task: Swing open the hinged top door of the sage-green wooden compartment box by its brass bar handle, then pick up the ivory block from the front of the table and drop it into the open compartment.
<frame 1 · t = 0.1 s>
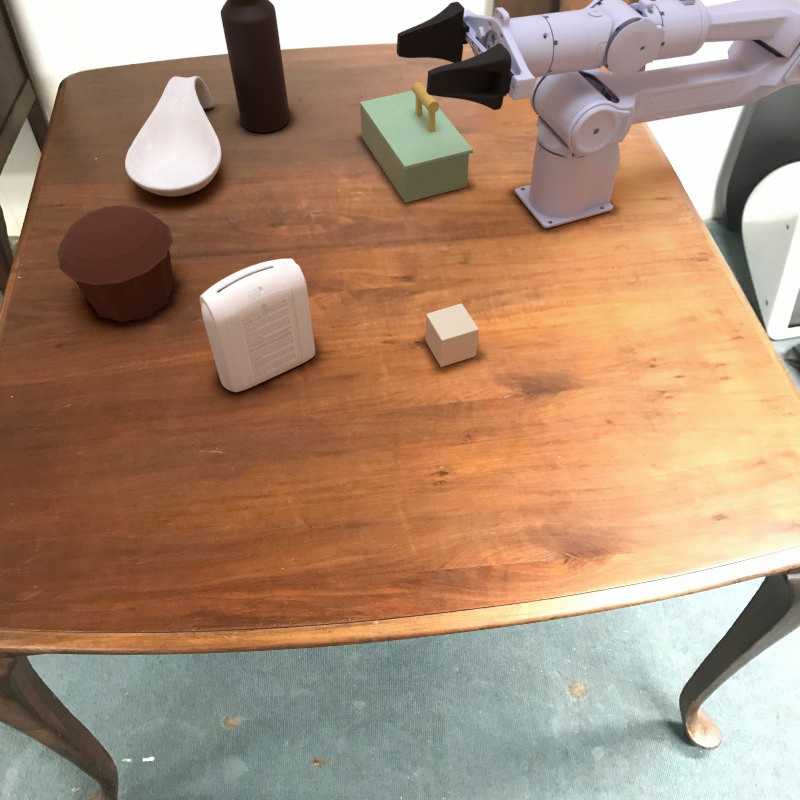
hand: (412, 63, 74), 22 cm above the table, tool horizontal, fingers open, 7 cm apart
muffin: (133, 294, 86), on the table
bottle: (265, 121, 107), on the table
block: (450, 348, 80), on the table
photo printer: (269, 366, 79), on the table
spoon rest: (186, 156, 102), on the table
compartment door: (414, 111, 95), point 7 cm above the table, hinge at 0.0°
compartment: (412, 161, 101), on the table
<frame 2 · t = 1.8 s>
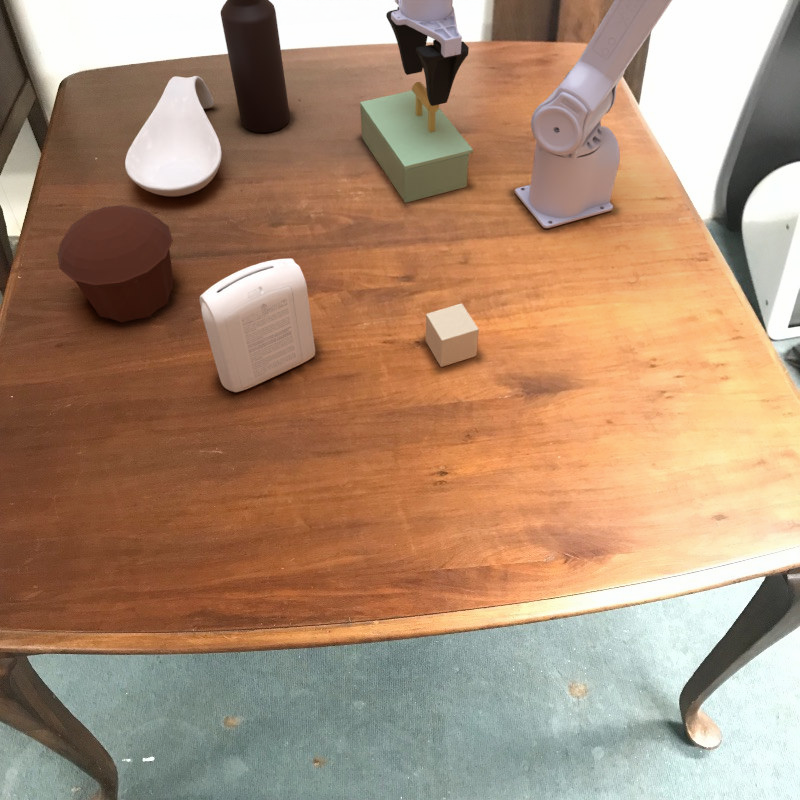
hand: (425, 87, 93), 10 cm above the table, tool pointing down, fingers open, 7 cm apart
nothing on the table moved.
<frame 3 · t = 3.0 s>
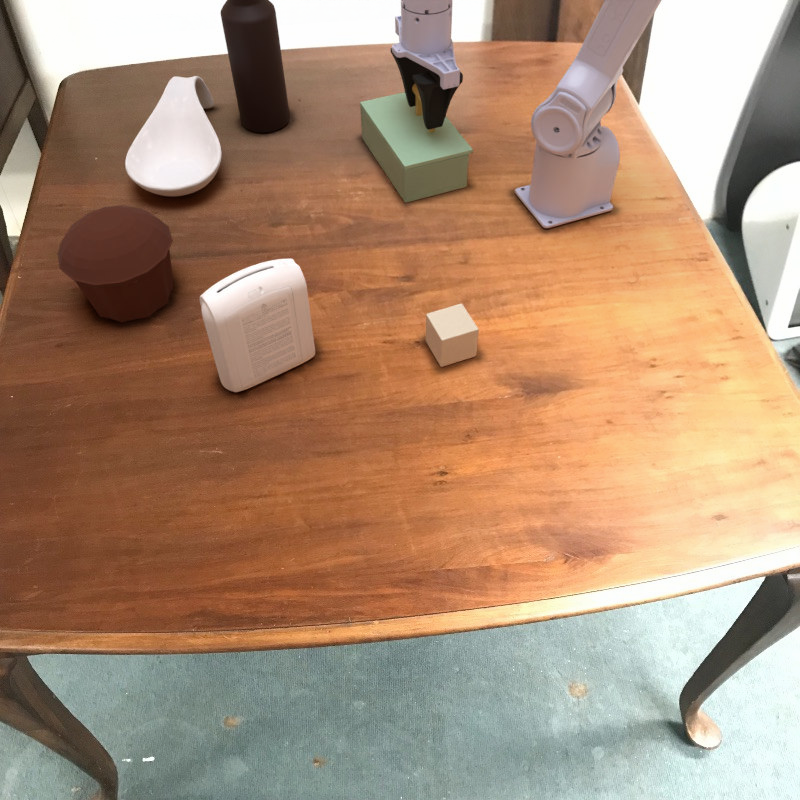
hand: (425, 115, 96), 6 cm above the table, tool pointing down, fingers closed on compartment door, 5 cm apart
compartment door: (414, 111, 95), point 7 cm above the table, hinge at 0.0°, touching gripper
everything else where it was.
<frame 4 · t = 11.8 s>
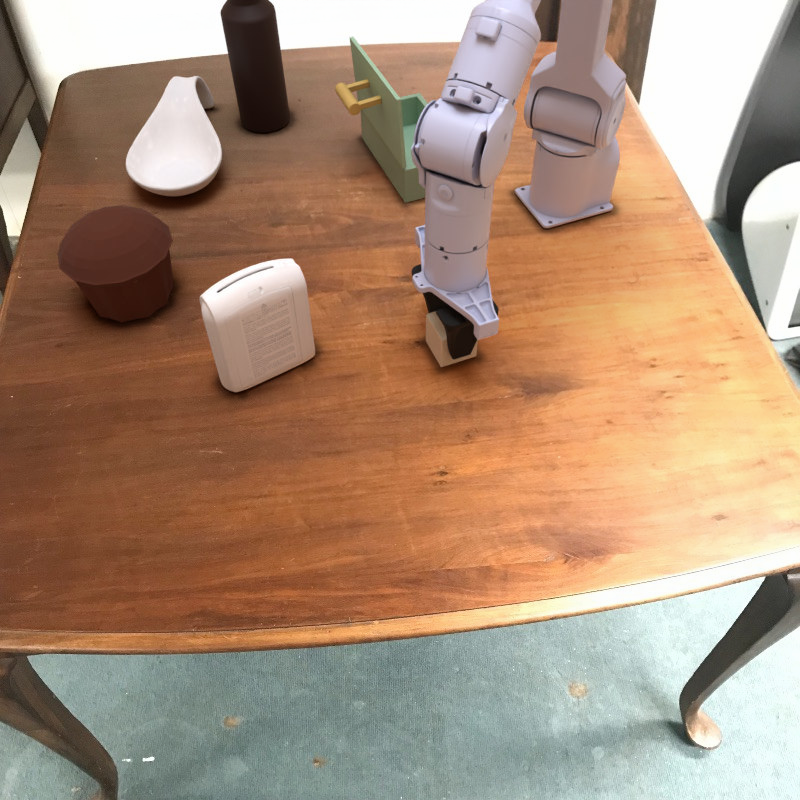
hand: (451, 339, 79), 1 cm above the table, tool pointing down, fingers closed on block, 4 cm apart
block: (450, 348, 80), on the table, touching gripper
compartment door: (361, 106, 92), point 9 cm above the table, hinge at 93.9°
everything else where it was.
when the fingers open (2 cm above the table, at t = 18.7 s): block stays where it is, resting on compartment.
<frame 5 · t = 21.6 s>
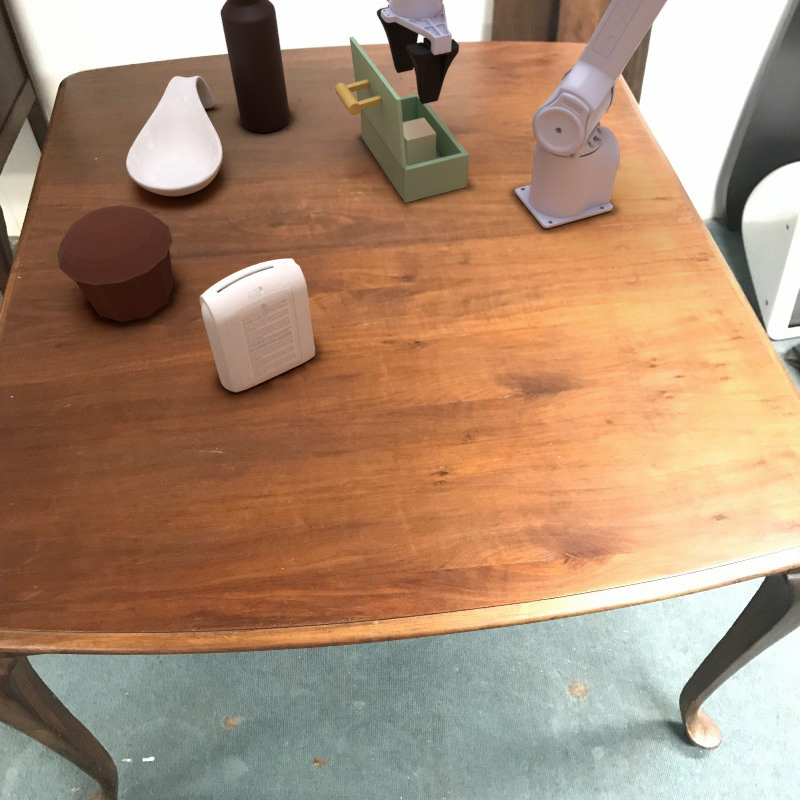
hand: (416, 85, 93), 10 cm above the table, tool pointing down, fingers open, 7 cm apart
block: (415, 156, 100), point 1 cm above the table, touching compartment
everything else where it was.
at the end: compartment door at +94° (first picture: +0°); block inside the target area in the compartment (0.4 cm from its centre), point 0.7 cm above the compartment's base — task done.
